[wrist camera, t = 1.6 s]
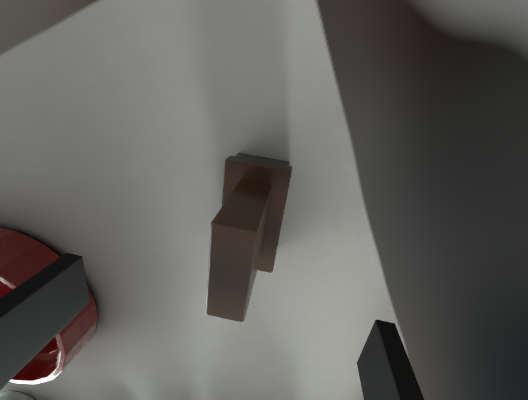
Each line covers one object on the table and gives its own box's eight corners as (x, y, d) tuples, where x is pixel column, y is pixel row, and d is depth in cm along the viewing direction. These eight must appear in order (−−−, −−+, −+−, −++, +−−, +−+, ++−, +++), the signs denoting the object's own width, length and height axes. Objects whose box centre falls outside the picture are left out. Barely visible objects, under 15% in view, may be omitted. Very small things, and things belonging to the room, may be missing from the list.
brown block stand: (236, 149, 20) (188, 194, 12) (293, 159, 19) (285, 212, 11) (227, 241, 23) (186, 325, 15) (275, 251, 23) (260, 342, 15)
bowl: (-66, 209, 27) (-141, 234, 22) (89, 242, 26) (43, 275, 21) (-15, 326, 34) (-64, 363, 29) (109, 355, 33) (77, 399, 28)
